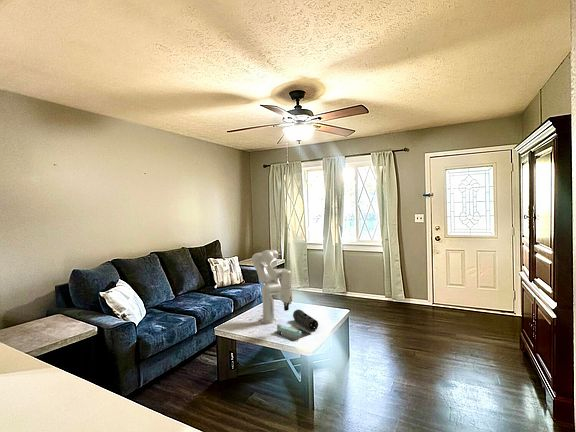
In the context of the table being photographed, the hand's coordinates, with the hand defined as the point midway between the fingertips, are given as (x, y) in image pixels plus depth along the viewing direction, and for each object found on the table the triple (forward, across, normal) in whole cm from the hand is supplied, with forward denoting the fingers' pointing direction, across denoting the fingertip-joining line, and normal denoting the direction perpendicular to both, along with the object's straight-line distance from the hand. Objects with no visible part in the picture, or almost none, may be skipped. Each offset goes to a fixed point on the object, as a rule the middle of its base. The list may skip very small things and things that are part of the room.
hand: (286, 310), depth 241 cm
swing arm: (+15, +8, -4) cm, 18 cm away
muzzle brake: (+18, 0, +19) cm, 26 cm away
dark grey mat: (+17, +6, +1) cm, 18 cm away
